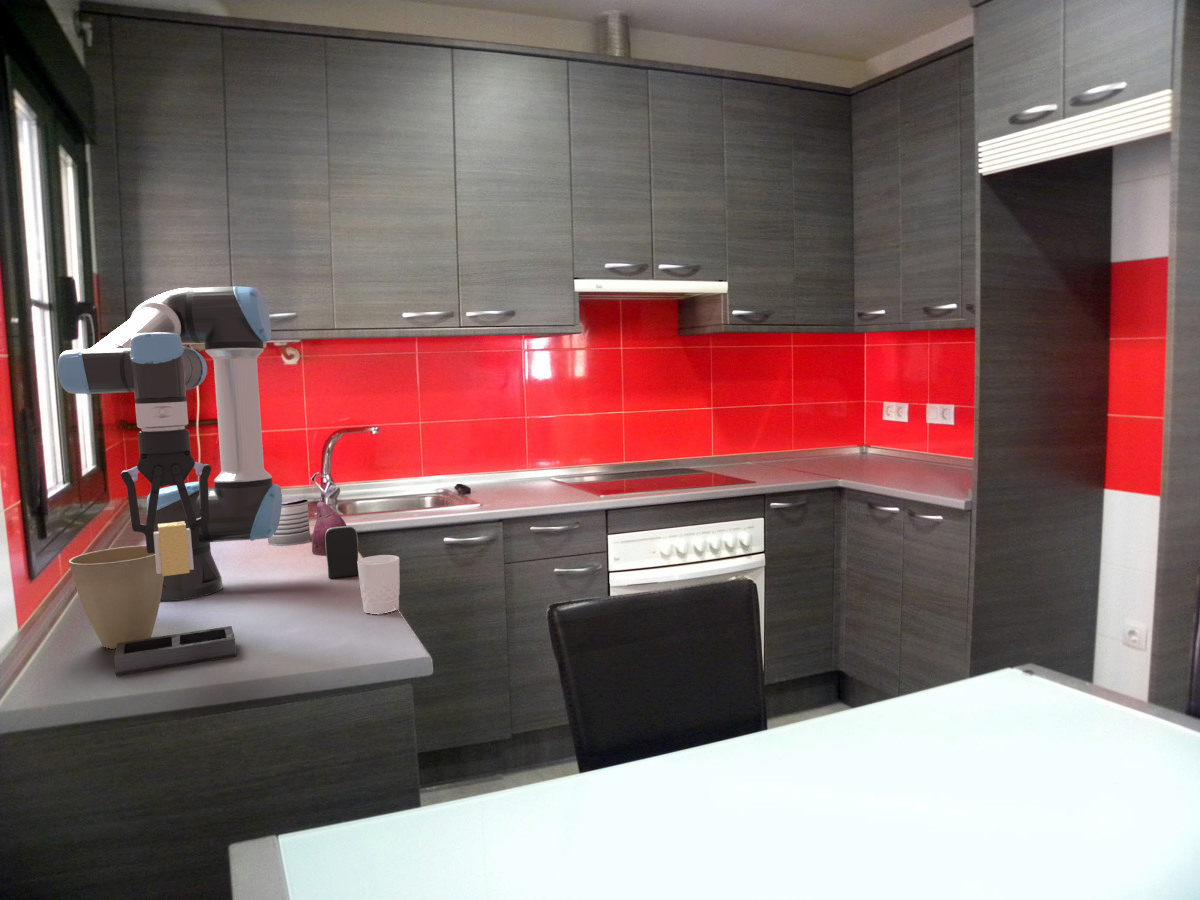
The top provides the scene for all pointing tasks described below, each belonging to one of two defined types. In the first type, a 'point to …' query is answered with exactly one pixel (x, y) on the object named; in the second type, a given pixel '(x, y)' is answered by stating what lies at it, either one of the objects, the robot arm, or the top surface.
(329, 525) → the vegetable
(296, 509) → the can
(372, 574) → the white cup
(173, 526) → the brass block
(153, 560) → the plant pot
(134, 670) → the divided tray
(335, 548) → the battery charger
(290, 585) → the top surface
